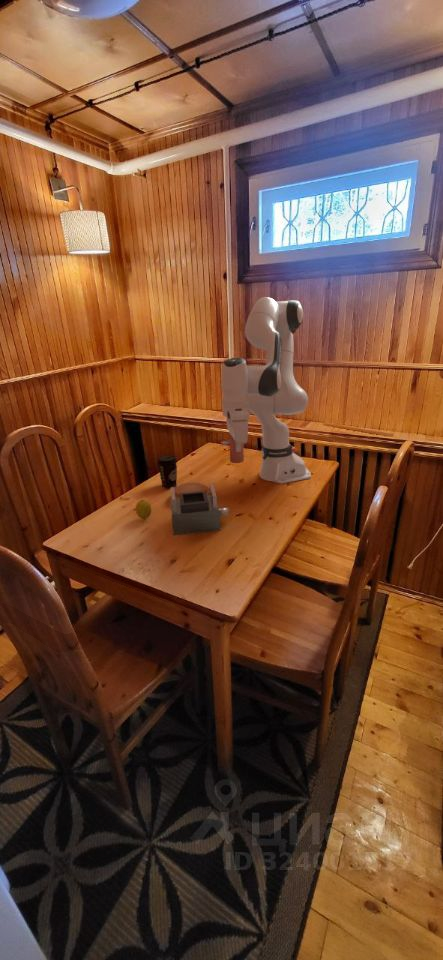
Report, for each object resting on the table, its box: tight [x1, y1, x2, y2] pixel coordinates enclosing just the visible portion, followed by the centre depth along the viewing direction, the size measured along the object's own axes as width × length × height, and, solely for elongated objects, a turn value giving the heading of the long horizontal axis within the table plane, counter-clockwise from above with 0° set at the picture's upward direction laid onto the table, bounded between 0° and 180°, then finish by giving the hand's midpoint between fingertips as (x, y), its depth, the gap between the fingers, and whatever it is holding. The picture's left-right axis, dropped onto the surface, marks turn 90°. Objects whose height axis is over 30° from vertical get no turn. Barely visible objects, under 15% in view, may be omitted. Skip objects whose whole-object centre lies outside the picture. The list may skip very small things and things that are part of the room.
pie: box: [174, 482, 210, 499], centre depth 163 cm, size 15×16×5 cm
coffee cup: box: [156, 454, 178, 490], centre depth 174 cm, size 9×8×13 cm
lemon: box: [135, 498, 152, 520], centre depth 149 cm, size 6×6×8 cm
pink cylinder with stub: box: [221, 434, 245, 464], centre depth 142 cm, size 8×5×10 cm, turn 98°
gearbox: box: [170, 483, 230, 536], centre depth 143 cm, size 20×12×13 cm, turn 98°
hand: (236, 448), depth 142 cm, fingers closed on pink cylinder with stub, 5 cm apart
